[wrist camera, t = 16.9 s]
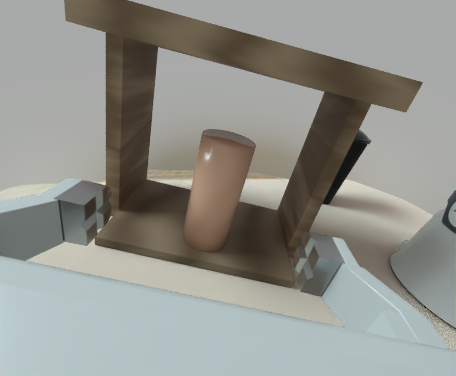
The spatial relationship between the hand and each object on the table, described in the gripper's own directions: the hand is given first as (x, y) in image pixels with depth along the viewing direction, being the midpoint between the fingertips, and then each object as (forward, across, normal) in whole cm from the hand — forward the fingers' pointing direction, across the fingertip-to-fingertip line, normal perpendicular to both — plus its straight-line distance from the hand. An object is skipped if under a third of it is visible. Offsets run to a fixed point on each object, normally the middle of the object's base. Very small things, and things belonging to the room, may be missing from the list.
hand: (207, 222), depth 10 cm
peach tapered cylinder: (+14, 0, +12) cm, 18 cm away
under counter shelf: (+17, 0, +13) cm, 21 cm away
